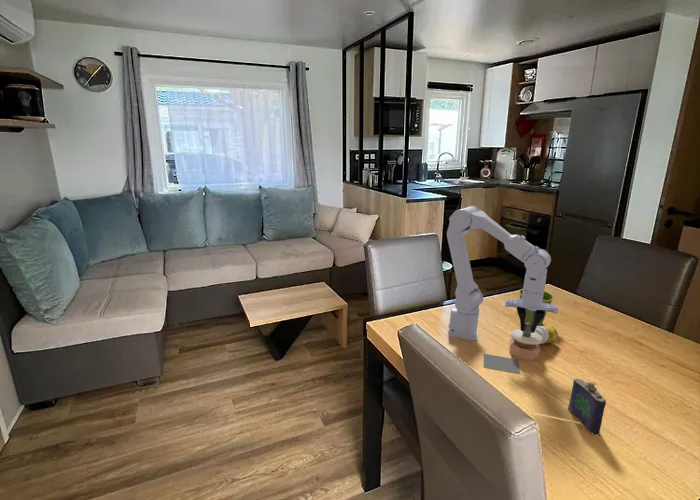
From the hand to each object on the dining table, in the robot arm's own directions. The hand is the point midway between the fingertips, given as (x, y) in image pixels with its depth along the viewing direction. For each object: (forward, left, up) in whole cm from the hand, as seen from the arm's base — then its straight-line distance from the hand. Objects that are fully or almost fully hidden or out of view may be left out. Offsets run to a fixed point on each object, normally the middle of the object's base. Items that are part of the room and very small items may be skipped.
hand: (527, 330), depth 119 cm
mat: (-7, -9, -8) cm, 14 cm away
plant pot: (+5, +25, -8) cm, 27 cm away
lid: (0, 0, -2) cm, 2 cm away
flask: (+11, -28, -8) cm, 31 cm away
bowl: (0, 0, -8) cm, 8 cm away
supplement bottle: (+9, +12, -6) cm, 16 cm away
